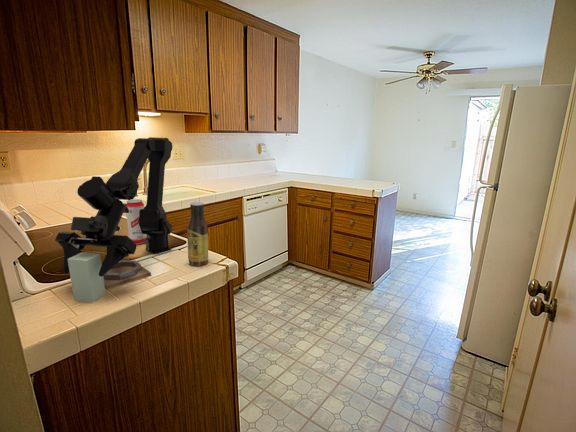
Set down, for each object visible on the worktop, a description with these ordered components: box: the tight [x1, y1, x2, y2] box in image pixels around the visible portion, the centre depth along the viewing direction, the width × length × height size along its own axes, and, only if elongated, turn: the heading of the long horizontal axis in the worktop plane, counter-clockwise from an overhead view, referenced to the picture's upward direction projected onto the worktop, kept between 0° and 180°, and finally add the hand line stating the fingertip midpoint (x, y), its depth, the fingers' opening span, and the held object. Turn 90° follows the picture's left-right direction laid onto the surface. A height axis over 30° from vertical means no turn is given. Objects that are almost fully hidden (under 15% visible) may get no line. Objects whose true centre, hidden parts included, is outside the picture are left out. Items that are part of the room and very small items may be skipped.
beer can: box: [125, 199, 147, 246], centre depth 115 cm, size 6×6×16 cm
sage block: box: [68, 251, 106, 303], centre depth 77 cm, size 4×5×11 cm
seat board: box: [104, 265, 152, 290], centre depth 91 cm, size 12×12×1 cm
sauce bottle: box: [186, 201, 209, 267], centre depth 98 cm, size 6×6×20 cm
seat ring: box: [103, 259, 142, 280], centre depth 90 cm, size 10×10×2 cm
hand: (82, 274), depth 76 cm, fingers open, 9 cm apart
